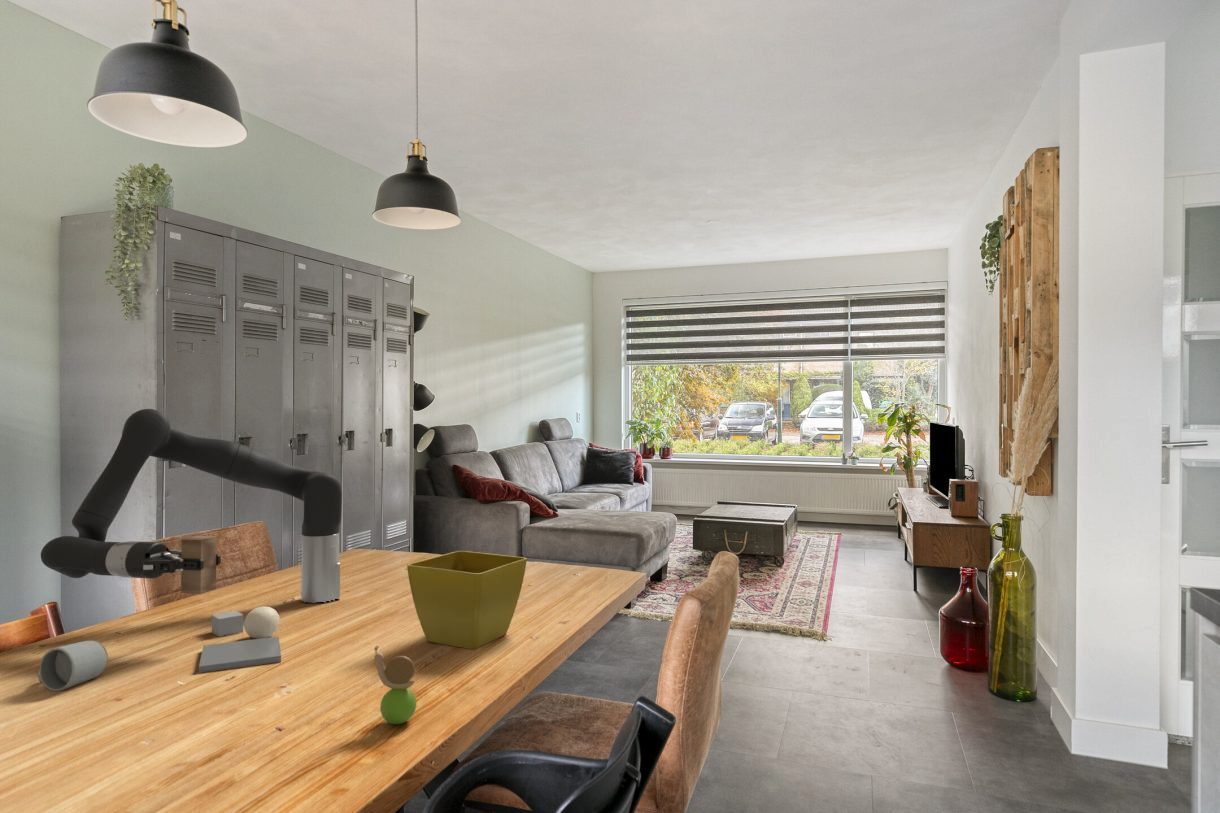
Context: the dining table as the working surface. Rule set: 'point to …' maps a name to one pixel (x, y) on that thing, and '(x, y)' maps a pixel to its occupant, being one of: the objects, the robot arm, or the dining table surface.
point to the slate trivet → (240, 654)
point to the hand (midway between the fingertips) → (210, 562)
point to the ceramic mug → (72, 664)
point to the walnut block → (207, 576)
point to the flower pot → (466, 596)
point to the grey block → (227, 623)
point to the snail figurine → (396, 688)
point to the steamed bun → (261, 622)
